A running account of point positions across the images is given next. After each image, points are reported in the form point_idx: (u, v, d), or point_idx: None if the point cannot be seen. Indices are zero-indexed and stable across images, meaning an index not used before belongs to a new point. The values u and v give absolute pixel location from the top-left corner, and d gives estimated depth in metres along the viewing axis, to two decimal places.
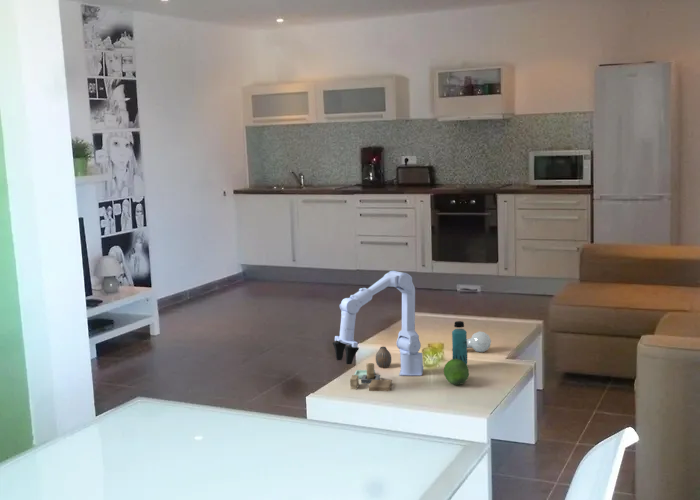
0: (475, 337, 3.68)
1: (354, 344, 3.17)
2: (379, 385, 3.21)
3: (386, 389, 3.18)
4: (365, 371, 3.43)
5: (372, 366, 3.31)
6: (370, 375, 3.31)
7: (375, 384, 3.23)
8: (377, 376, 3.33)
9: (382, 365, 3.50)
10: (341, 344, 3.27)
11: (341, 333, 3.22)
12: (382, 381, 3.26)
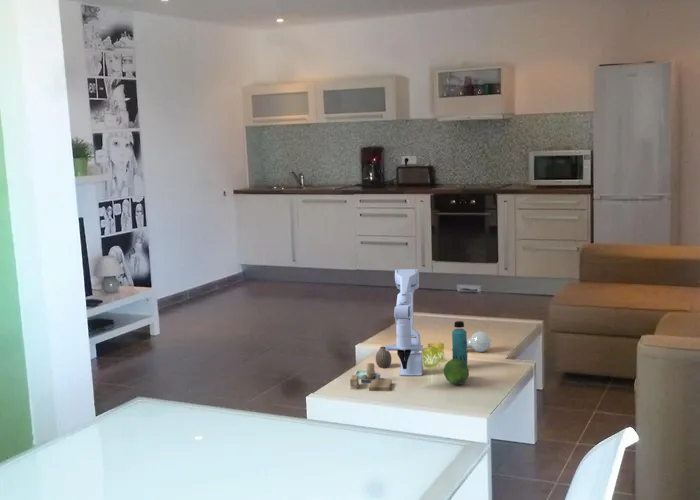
0: (475, 337, 3.68)
1: (422, 347, 3.19)
2: (379, 385, 3.21)
3: (386, 389, 3.18)
4: (365, 371, 3.43)
5: (372, 366, 3.31)
6: (370, 375, 3.31)
7: (375, 384, 3.23)
8: (377, 376, 3.33)
9: (382, 365, 3.50)
10: (403, 352, 3.21)
11: (404, 341, 3.17)
12: (382, 381, 3.26)
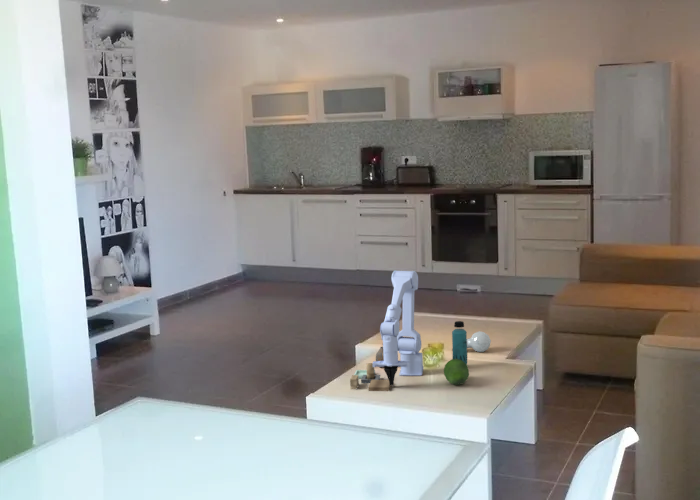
0: (475, 337, 3.68)
1: (409, 364, 3.20)
2: (379, 385, 3.21)
3: (385, 389, 3.19)
4: (365, 371, 3.43)
5: (372, 366, 3.31)
6: (370, 375, 3.31)
7: (375, 384, 3.23)
8: (377, 376, 3.33)
9: None
10: (390, 368, 3.23)
11: (390, 357, 3.19)
12: (381, 381, 3.26)
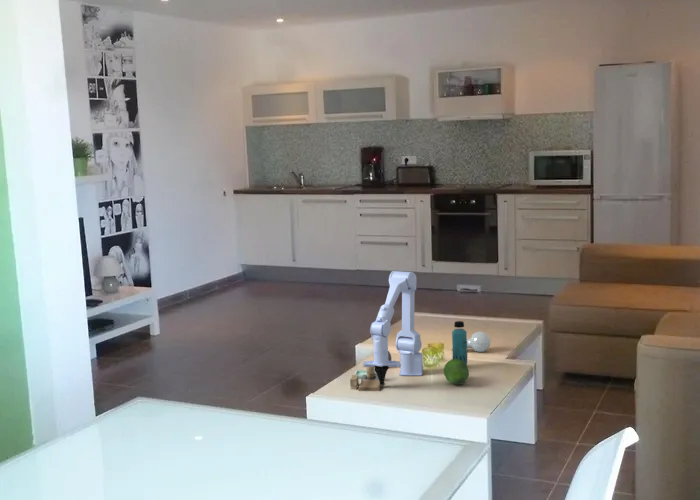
0: (475, 337, 3.68)
1: (399, 364, 3.21)
2: (369, 385, 3.22)
3: (376, 389, 3.19)
4: (365, 371, 3.43)
5: None
6: (370, 375, 3.31)
7: (365, 384, 3.23)
8: (377, 376, 3.33)
9: None
10: None
11: (381, 358, 3.19)
12: (372, 381, 3.27)
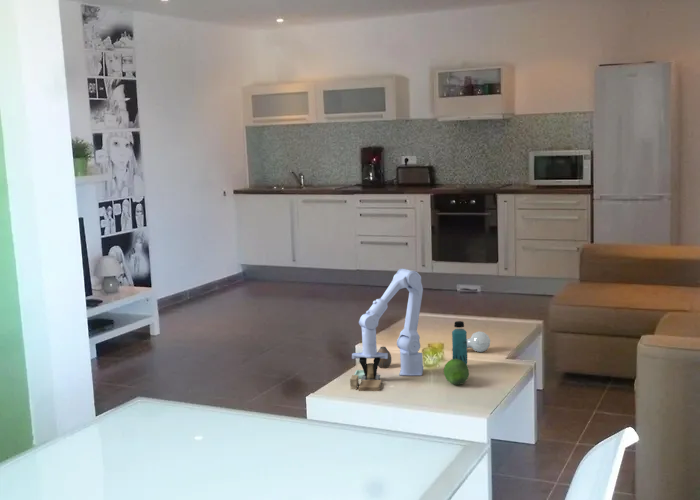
0: (474, 337, 3.68)
1: (387, 355, 3.30)
2: (369, 385, 3.22)
3: (376, 389, 3.19)
4: None
5: (372, 366, 3.31)
6: (370, 375, 3.31)
7: (365, 384, 3.23)
8: (377, 376, 3.33)
9: (382, 365, 3.50)
10: (365, 360, 3.32)
11: (369, 349, 3.28)
12: (372, 381, 3.27)
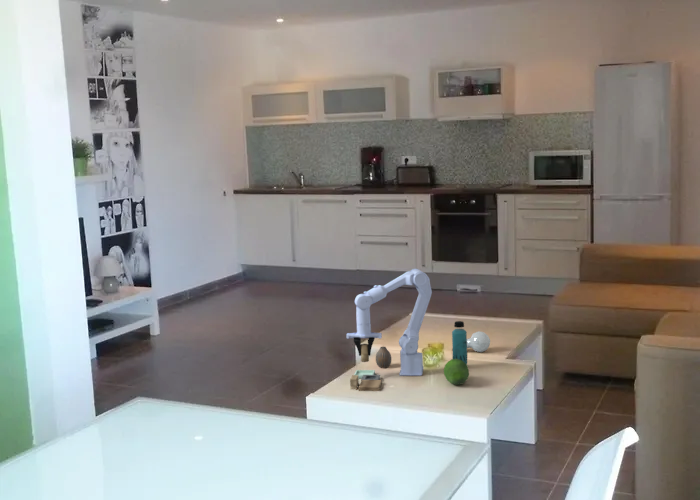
0: (474, 337, 3.68)
1: (381, 335, 3.35)
2: (369, 385, 3.22)
3: (376, 389, 3.19)
4: (365, 371, 3.43)
5: (366, 346, 3.35)
6: (364, 355, 3.35)
7: (365, 384, 3.23)
8: (377, 376, 3.33)
9: (382, 365, 3.50)
10: (360, 340, 3.37)
11: (363, 329, 3.33)
12: (372, 381, 3.27)
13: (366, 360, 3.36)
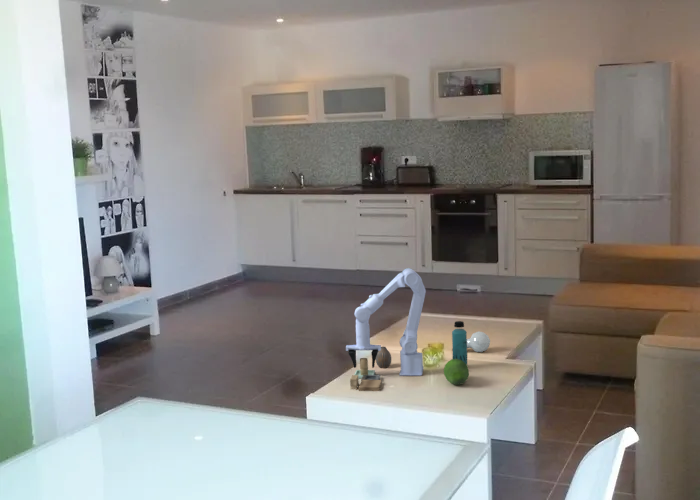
0: (474, 337, 3.68)
1: (380, 347, 3.37)
2: (369, 385, 3.22)
3: (376, 389, 3.19)
4: None
5: (366, 361, 3.38)
6: (363, 370, 3.38)
7: (365, 384, 3.23)
8: (377, 376, 3.33)
9: (382, 365, 3.50)
10: (354, 352, 3.39)
11: (363, 341, 3.35)
12: (372, 381, 3.27)
13: (365, 374, 3.38)
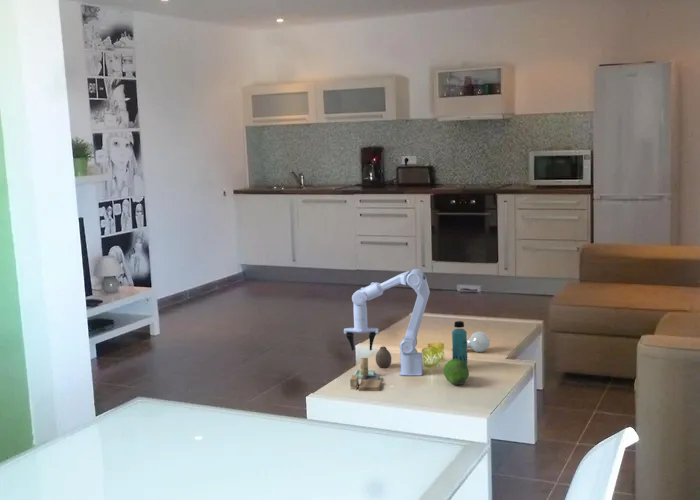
0: (474, 337, 3.68)
1: (377, 330, 3.41)
2: (369, 385, 3.22)
3: (376, 389, 3.19)
4: None
5: (366, 360, 3.38)
6: (364, 370, 3.38)
7: (365, 384, 3.23)
8: (377, 376, 3.33)
9: (382, 365, 3.50)
10: (352, 335, 3.44)
11: (360, 324, 3.40)
12: (372, 381, 3.27)
13: (365, 374, 3.38)
